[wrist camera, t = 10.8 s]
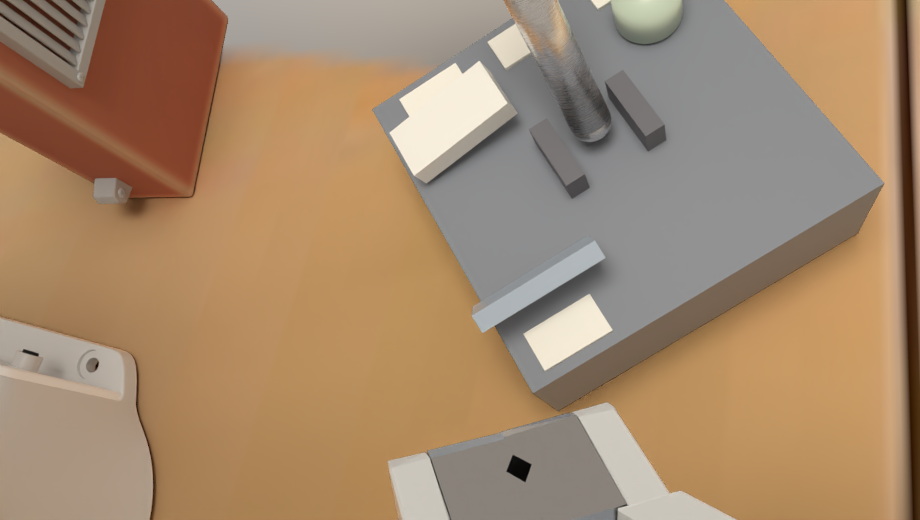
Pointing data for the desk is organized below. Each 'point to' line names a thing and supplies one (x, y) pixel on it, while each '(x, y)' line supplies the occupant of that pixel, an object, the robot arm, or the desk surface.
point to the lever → (562, 66)
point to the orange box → (112, 88)
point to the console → (639, 189)
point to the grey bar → (537, 283)
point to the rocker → (452, 122)
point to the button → (646, 19)
